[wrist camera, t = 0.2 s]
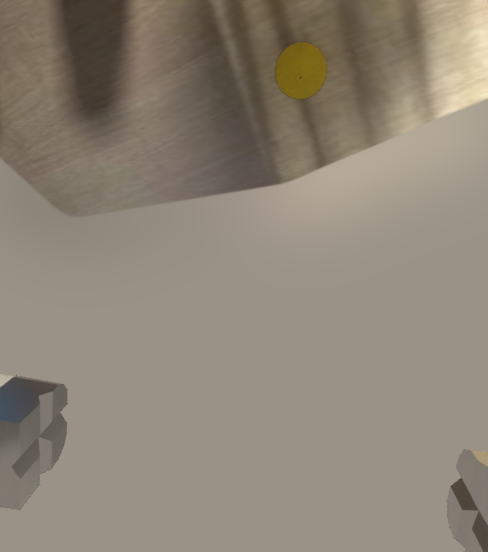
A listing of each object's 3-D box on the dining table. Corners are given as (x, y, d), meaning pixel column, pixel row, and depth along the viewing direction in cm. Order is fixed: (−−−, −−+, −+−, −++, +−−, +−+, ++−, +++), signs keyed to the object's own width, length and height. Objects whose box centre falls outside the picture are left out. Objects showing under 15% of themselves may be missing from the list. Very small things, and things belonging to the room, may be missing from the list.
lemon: (292, 100, 55) (289, 116, 48) (268, 56, 52) (262, 67, 46) (334, 74, 52) (337, 87, 46) (311, 27, 50) (311, 34, 44)
